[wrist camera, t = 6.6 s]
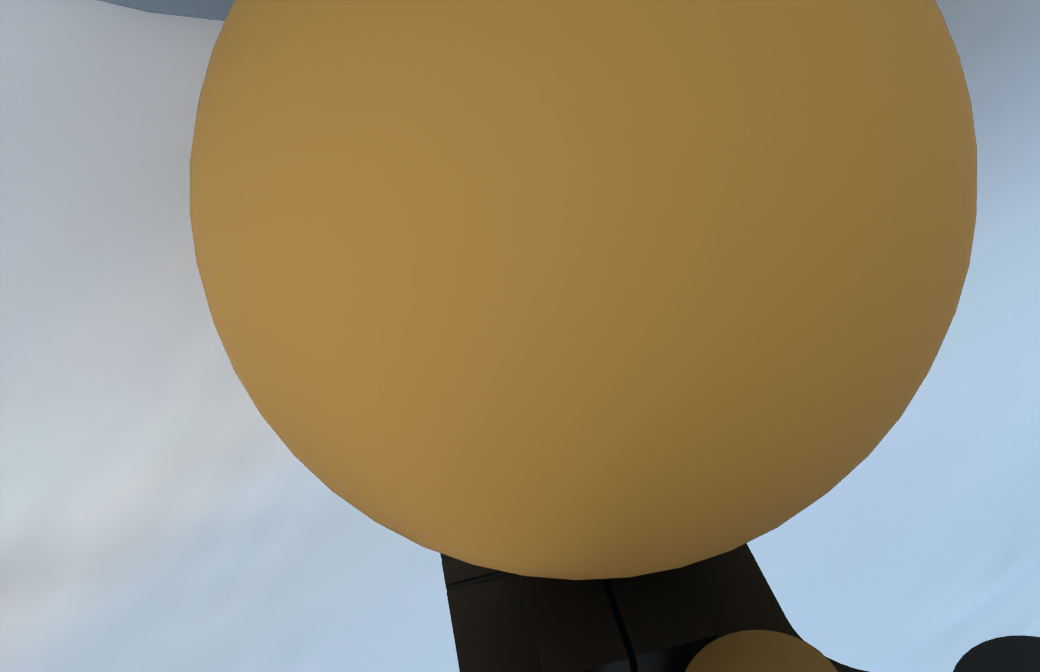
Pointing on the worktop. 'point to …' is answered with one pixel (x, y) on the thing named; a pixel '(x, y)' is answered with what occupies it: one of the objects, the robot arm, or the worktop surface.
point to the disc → (181, 7)
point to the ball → (583, 257)
